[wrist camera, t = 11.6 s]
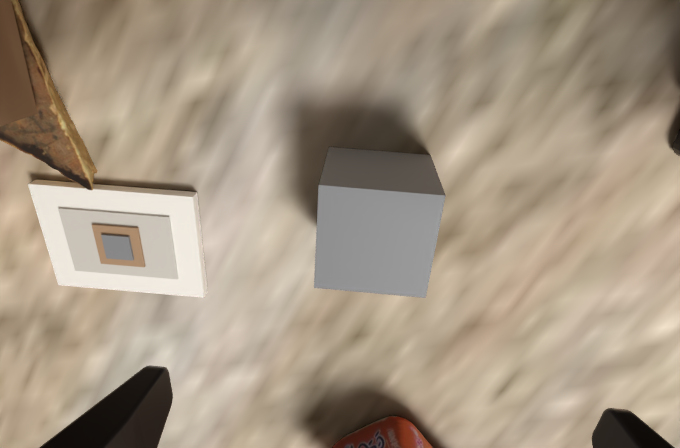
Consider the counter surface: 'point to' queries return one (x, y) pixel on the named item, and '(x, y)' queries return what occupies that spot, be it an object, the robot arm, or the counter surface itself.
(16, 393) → the counter surface
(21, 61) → the walnut block
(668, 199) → the counter surface
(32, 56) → the shard
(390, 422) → the snack package
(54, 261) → the plan card
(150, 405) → the robot arm
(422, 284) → the gray cube
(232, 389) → the counter surface
